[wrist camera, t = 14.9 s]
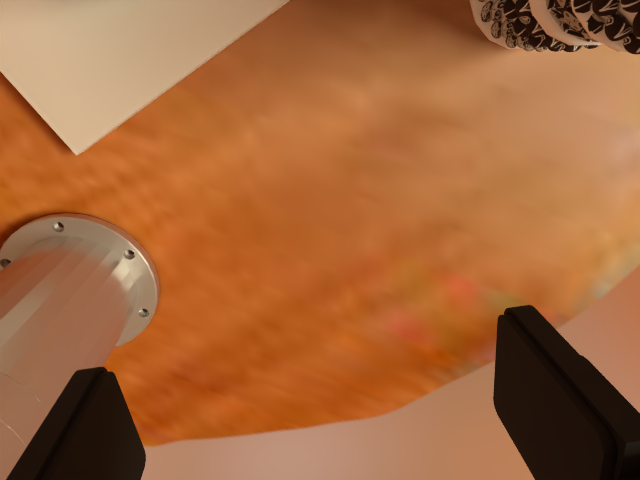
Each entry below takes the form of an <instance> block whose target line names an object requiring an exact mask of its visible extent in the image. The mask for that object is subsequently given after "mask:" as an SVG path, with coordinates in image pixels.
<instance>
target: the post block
mask: <svg viewBox="0 0 640 480" xmlns="http://www.w3.org/2000/svg"><path fill="white" fill-rule="evenodd" d="M289 1H290V0H0V71H1V73H2V74H3V75H4V76H5V77H6V78H7V79H8V80H9V81H10V83H11V84H12V85H13V86H14V87H15V88H16V89H17V90H18V91H19V93H20V94H21V95H22V96H23V97H24V98H25V99H26V100H27V101H28V102H29V104H30V105H31V106H32V107H33V108H34V109H35V110H36V111H37V112H38V114H39V115H40V116H41V117H42V118H43V119H44V120H45V121H46V122H47V124H48V125H49V126H50V127H51V128H52V129H53V130H54V131H55V132H56V134H57V135H58V136H59V137H60V138H61V139H62V140H63V141H64V142H65V143H66V145H67V146H68V147H69V148H70V149H71V150H72V151H73V152H74V153H75V155H78V154H80V153H82V152H84V151H86V150H87V149H88V148H90V147H91V146H92V145H94V144H95V143H97V142H98V141H99V140H101V139H102V138H103V137H105V136H106V135H107V134H109V133H110V132H112V131H113V130H114V129H116V128H117V127H118V126H120V125H121V124H122V123H124V122H125V121H127V120H128V119H129V118H131V117H132V116H133V115H135V114H136V113H137V112H139V111H140V110H142V109H143V108H144V107H146V106H147V105H148V104H150V103H151V102H153V101H154V100H155V99H157V98H158V97H159V96H161V95H162V94H163V93H165V92H166V91H168V90H169V89H170V88H172V87H173V86H174V85H176V84H177V83H178V82H180V81H181V80H183V79H184V78H185V77H187V76H188V75H189V74H191V73H192V72H193V71H195V70H196V69H198V68H199V67H200V66H202V65H203V64H204V63H206V62H207V61H209V60H210V59H211V58H213V57H214V56H215V55H217V54H218V53H219V52H221V51H222V50H224V49H225V48H226V47H228V46H229V45H230V44H232V43H233V42H234V41H236V40H237V39H239V38H240V37H241V36H243V35H244V34H245V33H247V32H248V31H249V30H251V29H252V28H254V27H255V26H256V25H258V24H259V23H260V22H262V21H263V20H265V19H266V18H267V17H269V16H270V15H271V14H273V13H274V12H275V11H277V10H278V9H280V8H281V7H282V6H284V5H285V4H286V3H288V2H289Z"/></svg>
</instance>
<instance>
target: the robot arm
mask: <svg viewBox="0 0 640 480" xmlns="http://www.w3.org/2000/svg"><path fill="white" fill-rule="evenodd" d="M61 223H62V224H63V225H62V224H61ZM130 250H132V251H133V252H131V251H130ZM159 293H160V288H159V279H158V275H157V272H156V269H155V266H154V264H153V263H152V261H151V259H150V257H149V256H148V254H147V253H146V251H145V250H144V249H143V248H142V247H141V245H140V244H139V243H138V242H137V241H136V240H135V239H133V238H132V237H131V236H130V235H129V234H127V233H126V232H125V231H123V230H121V229H120V228H118V227H116V226H115V225H113V224H111V223H109V222H106V221H104V220H101V219H99V218H96V217H91V216H87V215H83V214H71V213H61V214H52V215H47V216H44V217H40V218H37V219H34V220H33V221H31V222H29V223H27V224H25V225H24V226H22V227H21V228H19V229H18V230H17V231H15V232H14V233H13V234H11V236H10V237H9V238H8V239H7V240H6V241H5V243H4V244H3V245H2V247H1V249H0V480H141V476H142V473H143V470H144V467H145V461H146V458H145V457H146V455H145V450H144V447H143V445H142V442H141V440H140V437H139V435H138V432H137V430H136V427H135V424H134V422H133V419H132V417H131V414H130V412H129V409H128V407H127V404H126V402H125V399H124V396H123V394H122V391H121V389H120V386H119V384H118V381H117V379H116V376H115V374H114V373H113V372H108V371H107V369H106V368H104V367H103V366H104V364H105V363H106V361H107V359H108V357H109V356H110V354H111V352H112V350H113V348H115V347H118V346H121V345H123V344H125V343H127V342H129V341H131V340H132V339H134V338H135V337H136V336H138V335H139V334H140V333H141V332H142V331H143V330H144V329H145V328H146V326H147V325H148V324H149V322H150V321H151V319H152V317H153V315H154V313H155V310H156V308H157V305H158V302H159ZM493 399H494V406H495V409H496V412H497V414H498V416H499V418H500V419H501V421H502V423H503V425H504V427H505V428H506V430H507V432H508V433H509V435H510V437H511V439H512V440H513V442H514V444H515V446H516V447H517V449H518V451H519V452H520V454H521V456H522V458H523V459H524V461H525V463H526V464H527V466H528V468H529V470H530V472H531V473H532V475H533V477H534V478H535V480H640V413H639V412H638V411H637V410H636V409H635V408H634V407H633V406H632V405H631V404H630V403H629V402H628V401H627V400H626V399H625V398H624V397H623V396H622V395H621V394H620V393H619V392H618V390H617V389H616V388H615V387H614V386H613V385H612V384H611V383H610V382H609V381H608V380H607V379H606V378H605V377H604V376H603V375H602V374H601V373H600V372H599V371H598V370H597V369H596V368H595V367H594V366H593V365H592V364H591V363H590V361H588V360H587V359H586V358H585V357H583V356H581V355H579V354H578V353H577V352H576V350H575V349H574V348H573V347H572V346H571V345H570V344H569V343H568V342H567V341H566V340H565V339H564V338H563V337H562V336H561V335H560V334H559V333H558V332H557V331H556V330H555V328H554V327H553V326H552V325H551V324H550V323H549V322H548V321H547V320H546V319H545V318H544V317H543V316H542V315H541V314H540V313H539V312H538V311H537V310H536V309H535V308H534V307H533V306H532V305H525V306H519V307H512V308H507V309H506V310H505V312H504V315H500V316H499V317H498V324H497V342H496V360H495V379H494V397H493Z"/></svg>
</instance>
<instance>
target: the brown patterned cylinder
mask: <svg viewBox="0 0 640 480" xmlns="http://www.w3.org/2000/svg"><path fill="white" fill-rule="evenodd" d="M469 1H470V5H471V9H472V13H473V17H474V21H475V23H476V24H477V26H478V27H479V28H480V30H481V31H482V32H483V33H484V35H485V36H486V37H487V38H488V40H490V41H492V42H494V43H496V44H498V45H500V46H502V47H505V48H507V49H524V50H526V51H532V50H534V49H535V50H536V51H538V52H543V51H545V50H546V49H547V48H548V49H549V50H551V51H555V52H556V51H561V50H564V51H566V52H574V51H577V50H579V49H580V48H581V47H582V46H584V47H585V48H588V49H592V48H596V47H598V46H599V45H606V46H608V47H610V48H612V49H614V50H616V51H619V52H625V51H628V52H629V53H632V54H640V0H469Z"/></svg>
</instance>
